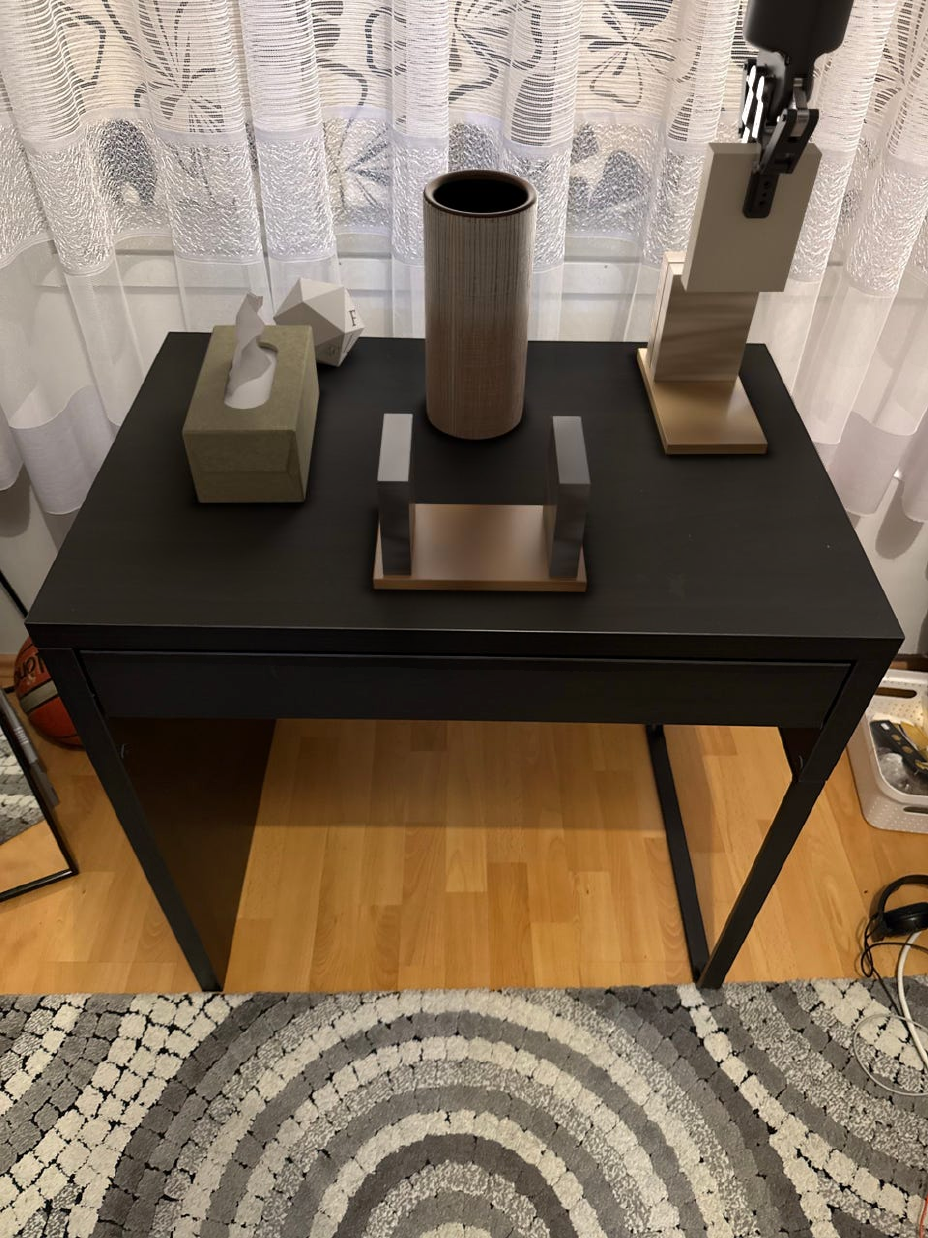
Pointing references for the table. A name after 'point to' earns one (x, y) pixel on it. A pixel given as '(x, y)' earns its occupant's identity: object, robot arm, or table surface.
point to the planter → (477, 299)
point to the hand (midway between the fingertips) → (750, 208)
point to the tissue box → (253, 411)
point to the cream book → (745, 223)
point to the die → (323, 317)
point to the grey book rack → (482, 524)
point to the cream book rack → (699, 367)
